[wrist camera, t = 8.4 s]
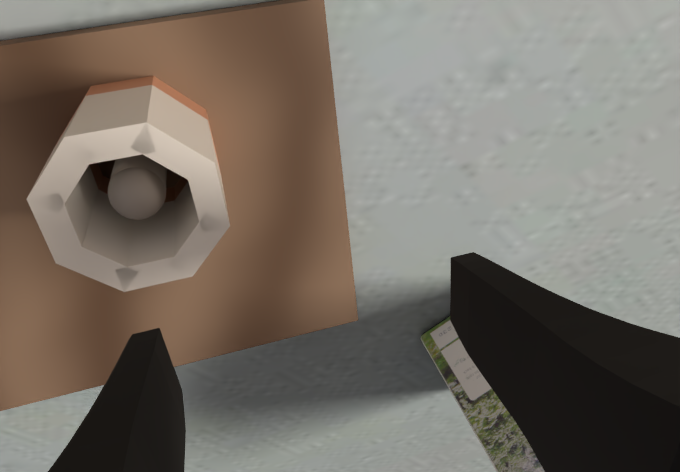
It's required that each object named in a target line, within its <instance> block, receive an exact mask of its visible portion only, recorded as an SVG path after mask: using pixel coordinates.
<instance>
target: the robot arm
mask: <svg viewBox="0 0 680 472" xmlns="http://www.w3.org/2000/svg"><path fill="white" fill-rule="evenodd" d="M450 321H451V323H452V325H453V327H454V329H455V331H456V333H457V335H458V337H459V339H460V341H461V342H462V344H463V346H464V348H465V350H466V352H467V354H468V355H469V356H470V358H471V359H472V361H473V362H474V364H475V365H476V367H477V368H478V370H479V371H480V372H481V374H482V375H483V377H484V378H485V380H486V381H487V382H488V384H489V385H490V387H491V388H492V389H493V391H494V392H495V394H496V395H497V397H498V398H499V399H500V401H501V402H502V404H503V405H504V406H505V408H506V409H507V411H508V412H509V413H510V415H511V416H512V418H513V419H514V421H515V422H516V423H517V425H518V427H519V428H520V430H521V431H522V433H523V434H524V436H525V437H526V439H527V441H528V443H529V444H530V446H531V448H532V450H533V452H534V453H535V455H536V457H537V459H538V460H539V462H540V464H541V466H542V468H543V469H544V471H545V472H680V338H678V337H674V336H671V335H667V334H664V333H660V332H657V331H653V330H650V329H646V328H643V327H640V326H636V325H633V324H630V323H627V322H624V321H622V320H619V319H616V318H613V317H610V316H608V315H605V314H602V313H599V312H597V311H594V310H592V309H589V308H587V307H584V306H582V305H580V304H577V303H575V302H573V301H571V300H568V299H566V298H564V297H561V296H559V295H557V294H555V293H553V292H551V291H549V290H547V289H544V288H542V287H540V286H538V285H536V284H534V283H532V282H530V281H528V280H526V279H525V278H523V277H521V276H519V275H517V274H515V273H513V272H511V271H509V270H507V269H505V268H503V267H502V266H500V265H498V264H496V263H494V262H492V261H490V260H488V259H486V258H484V257H482V256H480V255H478V254H476V253H474V252H472V253H468V254H464V255H460V256H456V257H452V258H451V303H450ZM185 432H186V430H185V417H184V405H183V395H182V389H181V386H180V383H179V380H178V378H177V375H176V372H175V369H174V367H173V364H172V361H171V358H170V355H169V353H168V350H167V347H166V344H165V342H164V339H163V336H162V333H161V330H160V328H156V329H152V330H148V331H144V332H140V333H135V334H132V335H131V337H130V338H129V340H128V342H127V344H126V346H125V348H124V350H123V351H122V353H121V355H120V357H119V359H118V361H117V363H116V365H115V367H114V369H113V371H112V372H111V374H110V376H109V378H108V380H107V382H106V383H105V385H104V387H103V389H102V390H101V392H100V394H99V396H98V397H97V399H96V401H95V403H94V404H93V406H92V408H91V409H90V411H89V413H88V414H87V416H86V417H85V419H84V420H83V422H82V423H81V425H80V426H79V428H78V430H77V431H76V433H75V434H74V436H73V437H72V439H71V440H70V442H69V443H68V445H67V446H66V448H65V449H64V450H63V452H62V453H61V455H60V456H59V458H58V459H57V460H56V462H55V463H54V464H53V466H52V467H51V468H50V470H49V471H48V472H184V460H185Z"/></svg>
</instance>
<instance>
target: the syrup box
mask: <svg viewBox="0 0 680 472" xmlns="http://www.w3.org/2000/svg"><path fill="white" fill-rule="evenodd" d="M421 341H422V342H423V344H424V346H425V348H426V350H427V351H428V353H429V355H430V356H431V358H432V360H433V362H434V363H435V365H436V367H437V369H438V370H439V372H440V374H441V376H442V377H443V379H444V381H445V382H446V384H447V386H448V388H449V390H450V392H451V393H452V395H453V397H454V398H455V400H456V402H457V403H458V405H459V407H460V408H461V410H462V412H463V413H464V415H465V417H466V419H467V420H468V422H469V424H470V426H471V427H472V429H473V431H474V433H475V434H476V436H477V438H478V440H479V441H480V443H481V445H482V446H483V448H484V450H485V452H486V453H487V455H488V457H489V459H490V461H491V462H492V464H493V466H494V468H495V469H496V471H497V472H545V471H544V469H543V468H542V466H541V464H540V462H539V460H538V459H537V457H536V455H535V453H534V452H533V450H532V448H531V446H530V444H529V443H528V441H527V439H526V437H525V436H524V434H523V433H522V431H521V430H520V428H519V427H518V425H517V423H516V422H515V421H514V419H513V418H512V416H511V415H510V413H509V412H508V411H507V409H506V408H505V406H504V405H503V404H502V402H501V401H500V399H499V398H498V397H497V395H496V394H495V392H494V391H493V389H492V388H491V387H490V385H489V384H488V382H487V381H486V380H485V378H484V377H483V375H482V374H481V372H480V371H479V370H478V368H477V367H476V365H475V364H474V362H473V361H472V359H471V358H470V356H469V355H468V354H467V352H466V350H465V348H464V346H463V344H462V342H461V341H460V339H459V337H458V335H457V333H456V331H455V329H454V327H453V325H452V323H451V321H450V317H448V318H447V319H445V320H444V321H442V322H441V323H439V324H438V325H436V326H435V327H433V328H431V329H430V330H429V331H427V332H426V333H425V334H423V335H422V336H421Z"/></svg>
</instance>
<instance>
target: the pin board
mask: <svg viewBox="0 0 680 472" xmlns="http://www.w3.org/2000/svg"><path fill="white" fill-rule="evenodd" d="M149 76H155V77H156V78H158V79H159V80H161V81H163V82H164V83H166V84H167V85H169V86H170V87H172V88H173V89H175V90H177V91H178V92H180V93H181V94H183V95H184V96H186V97H187V98H189V99H190V100H192V101H194V102H195V103H197V104H198V105H200V106H201V107H203V108H204V109H206V111H207V115H208V120H209V124H210V128H211V132H212V137H213V141H214V145H215V149H216V154H217V158H218V162H219V167H220V173H221V178H222V184H223V189H224V195H225V200H226V206H227V211H228V217H229V223H230V227H229V228H228V229H227V231H226V232H225V233H224V235H223V236H222V237H221V239H220V240H219V242H218V243H217V244H216V246H215V247H214V248H213V250H212V251H211V252H210V254H209V255H208V256H207V258H206V259H205V261H204V262H203V263H202V265H201V266H200V267H199V269H198V270H197V271H196V273H195V274H194V275H193V276H192V277H188V278H184V279H179V280H175V281H170V282H166V283H162V284H157V285H153V286H148V287H144V288H140V289H135V290H131V291H126V292H123V291H121V290H118V289H116V288H114V287H111V286H109V285H106V284H104V283H102V282H99V281H97V280H94V279H92V278H90V277H87V276H85V275H83V274H80V273H78V272H75V271H73V270H71V269H68V268H66V267H63V266H61V265H59V264H56V263H55V261H54V258H53V256H52V254H51V252H50V250H49V247H48V245H47V243H46V241H45V239H44V236H43V234H42V232H41V230H40V228H39V225H38V223H37V221H36V219H35V217H34V214H33V212H32V210H31V208H30V206H29V203H28V201H27V197H28V195H29V193H30V192H31V190H32V188H33V186H34V184H35V182H36V181H37V179H38V177H39V175H40V173H41V171H42V169H43V168H44V166H45V164H46V162H47V160H48V158H49V157H50V155H51V153H52V151H53V149H54V147H55V146H56V144H57V142H58V140H59V138H60V136H61V135H62V133H63V131H64V130H65V128H66V126H67V125H68V123H69V121H70V120H71V118H72V116H73V115H74V113H75V112H76V110H77V108H78V107H79V105H80V103H81V102H82V100H83V98H84V97H85V95H86V93H87V92H88V90H89V88H90V86H94V85H100V84H106V83H112V82H118V81H124V80H130V79H136V78H143V77H149ZM98 164H99V167H100V170H101V172H102V175H103V176H105V177H107V178H109V179H110V182H109V186H108V197H109V201H110V203H111V205H112V207H113V208H114V209H115V210H116V211H117V212H118V213H119V214H120V215H122V216H124V217H126V218H129V219H133V220H142V219H147V218H149V217H152V216H153V215H155V214H156V213H157V212H158V211H159V210H160V209H161V208H162V206H163V204H164V202H165V198H166V188H169V187H174V186H175V185H176V184H177V182H178V181H179V180H180V178H181V177H182V176H180V175H178V174H177V173H175V172H173V171H171V170H170V169H168V168H166V167H164V166H162V165H161V164H159V163H157V162H155V161H153V160H152V159H150V158H148V157H146V156H145V155H143V154H142V155H136V156H131V157H126V158H120V159H115V160H110V161H104V162H99V163H98ZM357 320H358V314H357V304H356V295H355V286H354V276H353V267H352V258H351V248H350V239H349V230H348V220H347V211H346V201H345V192H344V183H343V173H342V164H341V155H340V145H339V136H338V127H337V117H336V108H335V98H334V89H333V80H332V70H331V61H330V52H329V42H328V33H327V24H326V14H325V5H324V0H279V1H272V2H265V3H258V4H251V5H244V6H237V7H230V8H224V9H217V10H210V11H203V12H196V13H189V14H182V15H175V16H169V17H162V18H155V19H148V20H141V21H134V22H127V23H120V24H114V25H107V26H100V27H93V28H86V29H79V30H72V31H65V32H59V33H52V34H45V35H38V36H31V37H24V38H17V39H10V40H4V41H0V411H2V410H6V409H10V408H14V407H18V406H22V405H26V404H30V403H34V402H38V401H42V400H46V399H50V398H54V397H57V396H61V395H65V394H69V393H73V392H77V391H81V390H85V389H89V388H93V387H97V386H101V385H105V383H106V382H107V380H108V378H109V376H110V374H111V372H112V371H113V369H114V367H115V365H116V363H117V361H118V359H119V357H120V355H121V353H122V351H123V350H124V348H125V346H126V344H127V342H128V340H129V338H130V337H131V335H132V334H135V333H140V332H144V331H148V330H152V329H156V328H160V330H161V333H162V336H163V339H164V342H165V344H166V347H167V350H168V353H169V355H170V358H171V361H172V364H173V367H176V366H180V365H184V364H188V363H192V362H196V361H200V360H204V359H207V358H211V357H215V356H219V355H223V354H227V353H231V352H235V351H239V350H243V349H247V348H251V347H255V346H259V345H263V344H267V343H271V342H275V341H278V340H282V339H286V338H290V337H294V336H298V335H302V334H306V333H310V332H314V331H318V330H322V329H326V328H330V327H334V326H338V325H342V324H346V323H350V322H353V321H357Z"/></svg>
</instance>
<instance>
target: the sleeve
mask: <svg viewBox="0 0 680 472" xmlns="http://www.w3.org/2000/svg"><path fill="white" fill-rule="evenodd" d="M142 154H143V155H145V156H146V157H148V158H150V159H152V160H153V161H155V162H157V163H159V164H161V165H162V166H164V167H166V168H168V169H170V170H171V171H173V172H175V173H177V174H178V175H180V176H182V177H181V178H180V180H179V181H178V182H177V184H176V185H175V186H174V187H169V188H166V198H165V202H164V204H163V206H162V208H161V209H160V210H159V211H158V212H157V213H156V214H155V215H153V216H152V217H149V218H147V219H142V220H133V219H129V218H126V217H124V216H122V215H120V214H119V213H118V212H117V211H116V210H115V209H114V208H113V207H112V205H111V203H110V201H109V197H108V186H109V182H110V179H109V178H107V177H105V176H103V175H102V172H101V170H100V167H99V164H98V163H99V162H104V161H110V160H115V159H120V158H126V157H131V156H136V155H142ZM27 201H28V203H29V206H30V208H31V210H32V212H33V214H34V217H35V219H36V221H37V223H38V225H39V228H40V230H41V232H42V234H43V236H44V239H45V241H46V243H47V245H48V247H49V250H50V252H51V254H52V256H53V258H54V261H55V263H56V264H59V265H61V266H63V267H66V268H68V269H71V270H73V271H75V272H78V273H80V274H83V275H85V276H87V277H90V278H92V279H94V280H97V281H99V282H102V283H104V284H106V285H109V286H111V287H114V288H116V289H118V290H121V291H123V292H126V291H131V290H135V289H140V288H144V287H148V286H153V285H157V284H162V283H166V282H170V281H175V280H179V279H184V278H188V277H192V276H193V275H194V274H195V273H196V271H197V270H198V269H199V267H200V266H201V265H202V263H203V262H204V261H205V259H206V258H207V256H208V255H209V254H210V252H211V251H212V250H213V248H214V247H215V246H216V244H217V243H218V242H219V240H220V239H221V237H222V236H223V235H224V233H225V232H226V231H227V229H228V228H229V227H230V223H229V217H228V211H227V206H226V200H225V195H224V189H223V184H222V178H221V173H220V167H219V162H218V158H217V154H216V149H215V145H214V141H213V137H212V132H211V128H210V124H209V120H208V115H207V111H206V109H204V108H203V107H201V106H200V105H198V104H197V103H195V102H194V101H192V100H190V99H189V98H187V97H186V96H184V95H183V94H181V93H180V92H178V91H177V90H175V89H173V88H172V87H170V86H169V85H167V84H166V83H164V82H163V81H161V80H159V79H158V78H156V77H155V76H149V77H143V78H136V79H130V80H124V81H118V82H112V83H106V84H100V85H94V86H90V88H89V90H88V92H87V93H86V95H85V97H84V98H83V100H82V102H81V103H80V105H79V107H78V108H77V110H76V112H75V113H74V115H73V116H72V118H71V120H70V121H69V123H68V125H67V126H66V128H65V130H64V131H63V133H62V135H61V136H60V138H59V140H58V142H57V144H56V146H55V147H54V149H53V151H52V153H51V155H50V157H49V158H48V160H47V162H46V164H45V166H44V168H43V169H42V171H41V173H40V175H39V177H38V179H37V181H36V182H35V184H34V186H33V188H32V190H31V192H30V193H29V195H28V197H27Z"/></svg>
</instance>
